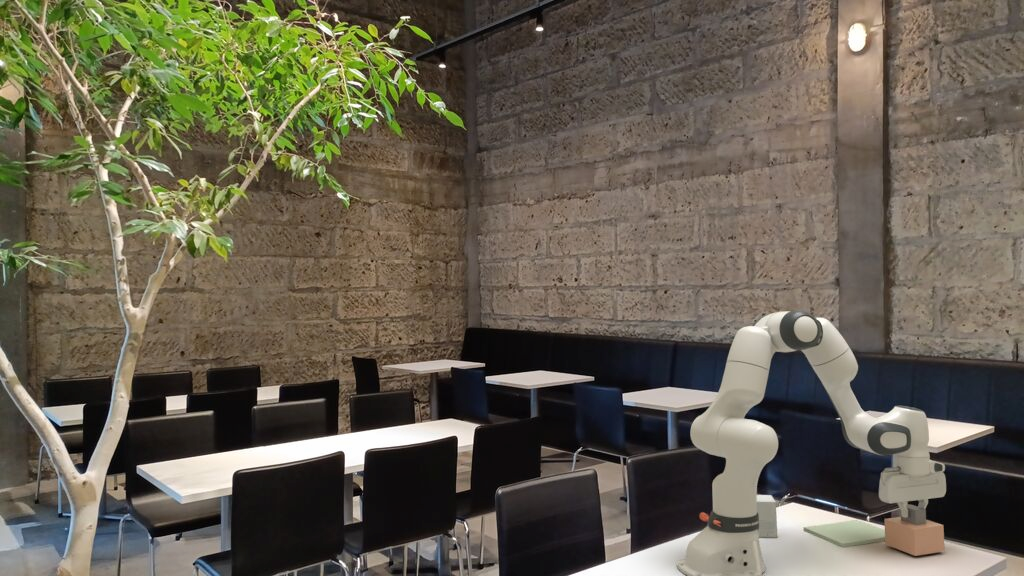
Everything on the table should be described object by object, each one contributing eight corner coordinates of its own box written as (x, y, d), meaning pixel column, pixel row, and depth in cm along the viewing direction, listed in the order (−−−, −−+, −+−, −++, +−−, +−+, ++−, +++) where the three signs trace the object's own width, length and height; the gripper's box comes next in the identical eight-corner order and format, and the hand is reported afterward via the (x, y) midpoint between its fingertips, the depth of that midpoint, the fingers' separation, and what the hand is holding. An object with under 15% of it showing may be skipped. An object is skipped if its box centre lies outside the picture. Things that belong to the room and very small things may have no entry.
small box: (777, 538, 210) (776, 501, 210) (757, 537, 211) (756, 501, 211) (773, 529, 218) (772, 494, 218) (753, 529, 219) (752, 494, 219)
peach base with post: (915, 555, 191) (913, 514, 191) (885, 544, 200) (883, 504, 200) (944, 551, 194) (942, 510, 194) (913, 540, 203) (912, 500, 203)
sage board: (842, 547, 201) (842, 543, 201) (803, 530, 216) (803, 527, 216) (899, 538, 207) (899, 535, 207) (857, 523, 222) (857, 519, 222)
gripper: (890, 471, 191) (892, 523, 191) (949, 464, 197) (951, 515, 197) (872, 466, 197) (873, 516, 197) (930, 460, 203) (931, 509, 203)
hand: (913, 516), depth 197 cm, fingers closed on peach base with post, 3 cm apart
